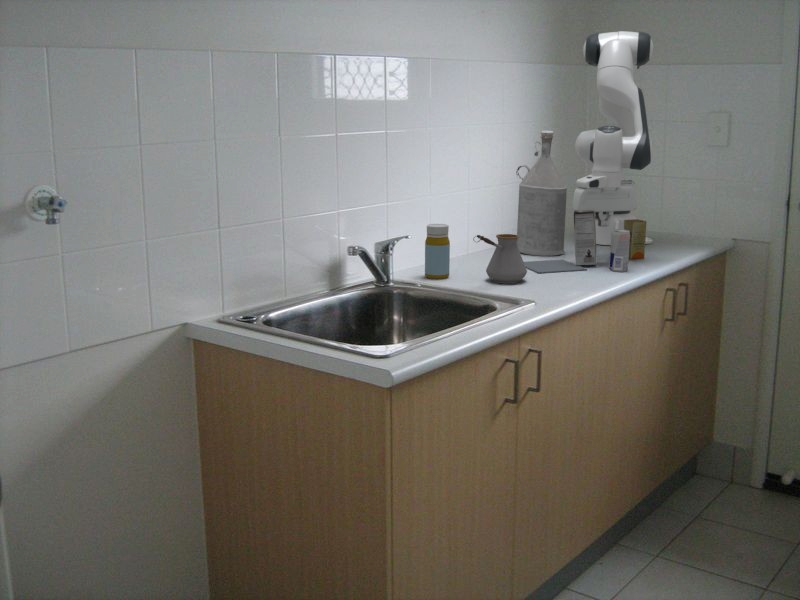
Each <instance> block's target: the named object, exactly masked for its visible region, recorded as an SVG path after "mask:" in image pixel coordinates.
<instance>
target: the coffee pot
mask: <svg viewBox="0 0 800 600" xmlns="http://www.w3.org/2000/svg"><path fill="white" fill-rule="evenodd" d="M476 237H477V238H478V239H479V240H478V241H477V243H479V242H480V241H483V242H484V243H486V244H489V245H490V246H494V247H495V248H494V252H493V254H492V256H491V258H490V260H489V262H488V265H487V267H486V269H485V271H486V274H487V276H488V277H489V278H490V279H492V282H494V283H497V284H516V283H519V282H521V280H523V279H524V278H525V277H526V275H527V273H528V269H527V268H526V267H525V264H524V262H525V261H524V260H523V256H522V253H521V252H520V251H519V249H518V246H517V244H516V243H517V239H518V238H519V236H518V235H517V234H513V233H512V234H511V233H509V234H508V233H502V234H496V235H495V238H496V239H497V243H495V242H494V241H492V240H491V239H490V238H488V237H485V236H483V235H479V234H477V235H475V236H474V237H473V243H476V240H475V238H476Z"/></svg>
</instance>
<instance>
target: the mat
mask: <svg viewBox="0 0 800 600" xmlns="http://www.w3.org/2000/svg"><path fill="white" fill-rule="evenodd" d="M523 262H524V264H525V267H526V270H529V271H532V272H534V273H536V274H541V275H542V274H553V273H566V272H567V273H568V272H586V271H588V268H585V267H582V266H581V265H576V263H573V262H569V261H567V260H566V259H548V260H545V259H544V260H532V261H523Z"/></svg>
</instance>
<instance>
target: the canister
mask: <svg viewBox="0 0 800 600" xmlns="http://www.w3.org/2000/svg"><path fill="white" fill-rule="evenodd" d="M540 135H541V136H540V138H541V142H540V141H534V147H535V149H536V151H535V152H534V156H535V157H538V156H539V152H540V151H541V152H540V153H541V154H540V156H539V157H538V159H537V160H536V161H535V163H534V164H533V166H532V167H531V168H530V167H529V166H528V165H526V164H525V165H519V166H518V167H517V169H516V176H518V177H519V178H518V179H521V182H520V183H519V184H518V187H519V188H518V206H517V207H518V209H517V224H516V225H517V228H516V235H518V236H519V238H518V239H517V243H516V244H517V246H518V249H519V251H520V254H525V255H530V256H539V257H541V256H544V257H550V256H552V257H553V256H560V255H563V254H564V253H565V235H566V234H565V231H566V214H567V213H566V211H567V193H568V191H567V190H568V186H567V185H566V183H565V181H564V180H563V177H562V176H561V174H560V172H559V170H558V168H557V166H556V164H555V162H554V160H553V158H552V156H551V150H552V149H551V148H552V144H553V143H552V142H553V138H554V131H553V130H542V131H540ZM537 143H538V144H539V145H541V149H540V150H538V149H537ZM523 167H525V168H526V169H527V172H526V174H525V176H524V177H521V176H520V173H519V171H520V169H521V168H523Z"/></svg>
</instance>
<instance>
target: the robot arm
mask: <svg viewBox="0 0 800 600" xmlns="http://www.w3.org/2000/svg"><path fill="white" fill-rule="evenodd" d="M653 42H654V41H653V40H652V36H651V35H650V33H648V32H643V31H639V32H635V31H625V30H623V31H622V30H619V31H611V32H610V31H609V32H602V33H599V32H595V33H592V34H589V35H587V38H586V40H585V42H584V44H583V48H582V49H583V50H582V52H583V53H582V54H583V57H584V59H585V63H587V64H588V65H589V66H593V67H597V70H596V88H597V91H598V94H599V100H598V102H599V103H598V109H599V113H600V114H601V115H602V116H603V117H605V119H606V118H607V119H608V120H610V121H612V122H614V123H615V125H603V126H599V127H598V128H597V129H590V130H589V129H588V130H586V131H585V130H584V131H581V132H580V133H579V134H578V136H577V137H576V140H575V144H574V148H575V149H574V150H575V153H576V154H577V156H578V158H579V159H580V160H581V161H583V162H584V163H585V164H586V165H587V167H588V168H589V169H590V171H591V174H588V175H586V176H583V177H581V178H577V180H576V182H575V186H576V189H575V190H574V192H573V198H572V210H573V212H574V211H575V212H579V213H581V212H592V211H594V212H595V226H596V245H603V246H611V233H612V230H615V229H624V220H633V219H638V218H637V217H636V216H634V215H633V214H632V213H631V211H635V210H636V209H637V192H636V191H637V183H635V182H634V181H633V180H631V179H629V180H627V178H626V177H625V176H624V175H623V173H622V171H623V170H622V169H630V170H636V171H637V170H638V171H641V170H643V169H645V168H646V167H647V166H649V165H650V164H651V162H652V159H653V141H652V138H651V136H650V134H649V126H648V117H647V110H646V103H645V97H644V93H643V91H642V89H641V88H640V87H638V86H637V85H636V83H635V81H634V80H635V78H634V66H636V67H637V68H636V69H637V70H638V69H640V67H642V66H645V65H646V64H647V63H648V62H650V60H651V57H652V56H653V52H654V43H653ZM646 244H648V245H649V244H653V239H652V238H649V237H647V235H646V236H645V245H646Z"/></svg>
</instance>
